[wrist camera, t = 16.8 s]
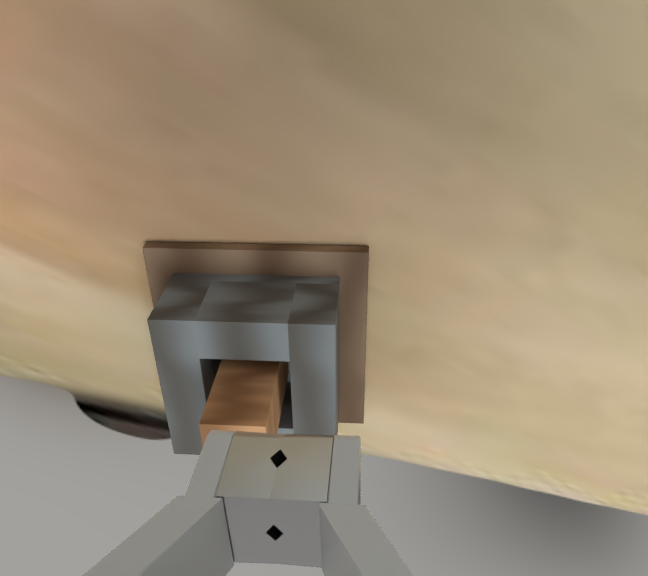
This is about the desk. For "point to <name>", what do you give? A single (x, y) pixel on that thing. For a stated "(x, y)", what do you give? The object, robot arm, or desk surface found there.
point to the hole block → (260, 328)
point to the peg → (245, 397)
